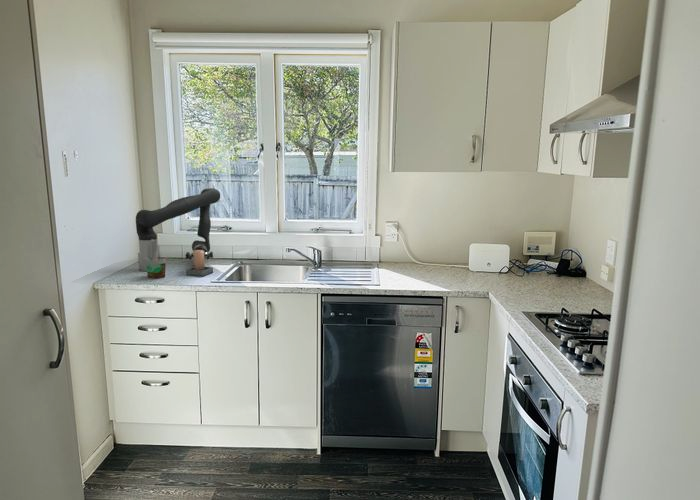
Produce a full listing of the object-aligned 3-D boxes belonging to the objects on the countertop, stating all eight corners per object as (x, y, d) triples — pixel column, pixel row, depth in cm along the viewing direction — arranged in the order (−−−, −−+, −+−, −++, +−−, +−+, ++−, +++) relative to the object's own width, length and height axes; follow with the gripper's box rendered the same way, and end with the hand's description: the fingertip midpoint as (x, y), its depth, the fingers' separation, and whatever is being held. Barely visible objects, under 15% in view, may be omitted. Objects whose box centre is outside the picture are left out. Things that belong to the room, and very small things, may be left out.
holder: (186, 275, 254) (185, 269, 254) (197, 271, 264) (197, 265, 263) (202, 276, 251) (202, 271, 251) (213, 272, 261) (213, 267, 260)
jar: (192, 273, 256) (191, 251, 253) (197, 270, 261) (197, 249, 259) (201, 273, 254) (200, 252, 252) (206, 271, 260) (206, 250, 257)
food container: (139, 277, 246) (138, 259, 244) (147, 275, 252) (146, 256, 250) (159, 280, 243) (158, 261, 241) (167, 277, 248) (166, 258, 246)
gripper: (186, 245, 267) (184, 251, 252) (212, 245, 271) (212, 250, 255) (187, 258, 268) (185, 265, 253) (213, 258, 272) (213, 264, 257)
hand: (199, 257), depth 254 cm, fingers open, 8 cm apart
